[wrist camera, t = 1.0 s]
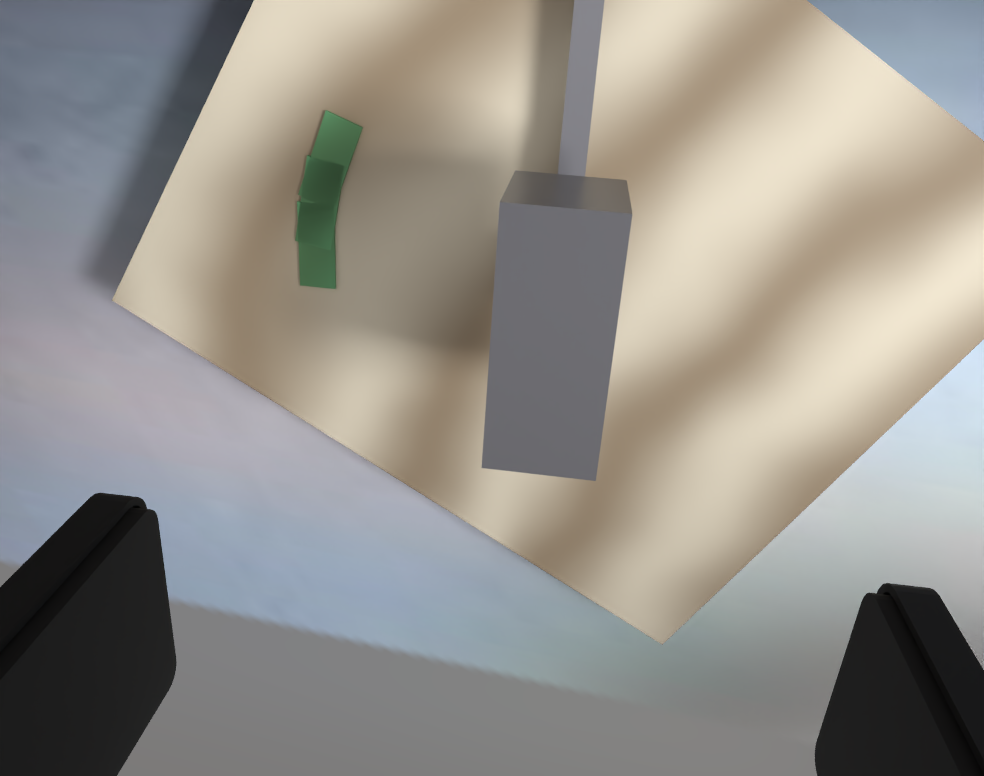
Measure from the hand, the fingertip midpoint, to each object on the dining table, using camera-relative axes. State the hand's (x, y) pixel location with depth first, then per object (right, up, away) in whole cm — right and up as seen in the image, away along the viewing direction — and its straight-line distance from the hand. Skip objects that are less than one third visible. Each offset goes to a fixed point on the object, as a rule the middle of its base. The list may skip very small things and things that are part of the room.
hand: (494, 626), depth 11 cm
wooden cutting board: (+2, +8, +17) cm, 19 cm away
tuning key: (+2, +9, +14) cm, 17 cm away
